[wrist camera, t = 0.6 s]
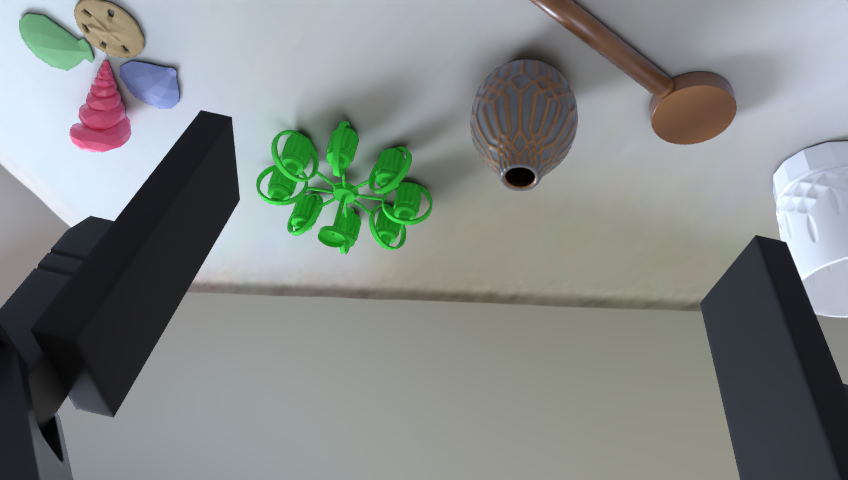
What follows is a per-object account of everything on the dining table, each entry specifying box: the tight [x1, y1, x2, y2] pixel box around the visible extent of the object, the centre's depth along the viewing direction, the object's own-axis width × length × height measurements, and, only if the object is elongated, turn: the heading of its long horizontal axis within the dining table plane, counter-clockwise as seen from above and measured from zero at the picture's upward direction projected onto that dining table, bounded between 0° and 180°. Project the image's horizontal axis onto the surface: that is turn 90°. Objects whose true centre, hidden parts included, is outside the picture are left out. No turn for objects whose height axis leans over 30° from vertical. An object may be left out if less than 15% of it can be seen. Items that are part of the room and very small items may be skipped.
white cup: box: [773, 141, 848, 317], centre depth 40 cm, size 8×8×10 cm
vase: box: [470, 59, 578, 191], centre depth 38 cm, size 7×7×9 cm
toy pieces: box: [19, 0, 179, 152], centre depth 43 cm, size 12×11×4 cm
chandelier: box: [256, 121, 432, 254], centre depth 49 cm, size 15×15×7 cm
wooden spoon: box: [530, 0, 736, 144], centre depth 36 cm, size 19×5×1 cm, turn 56°
